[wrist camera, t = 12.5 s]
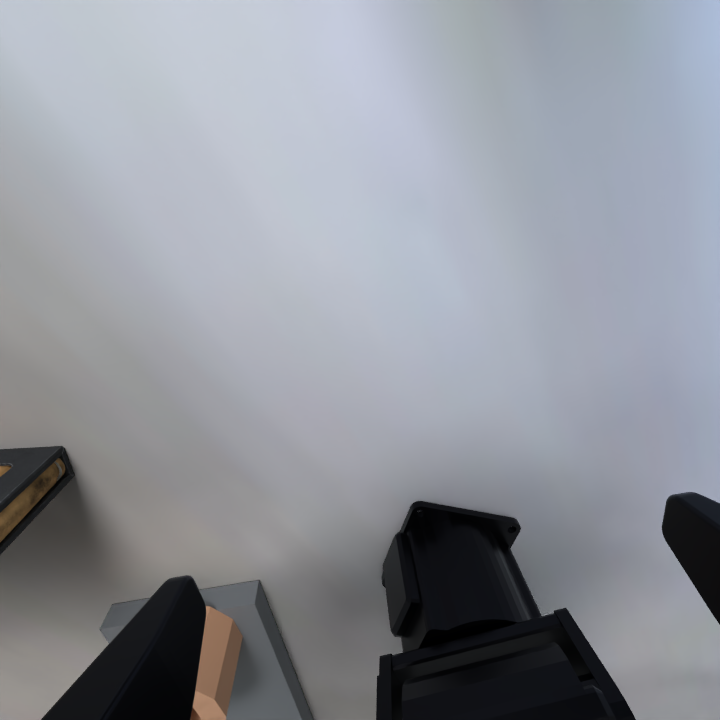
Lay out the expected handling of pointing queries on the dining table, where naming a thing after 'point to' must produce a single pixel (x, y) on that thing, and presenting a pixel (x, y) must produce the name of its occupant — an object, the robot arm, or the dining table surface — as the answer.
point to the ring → (216, 666)
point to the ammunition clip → (28, 486)
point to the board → (243, 653)
